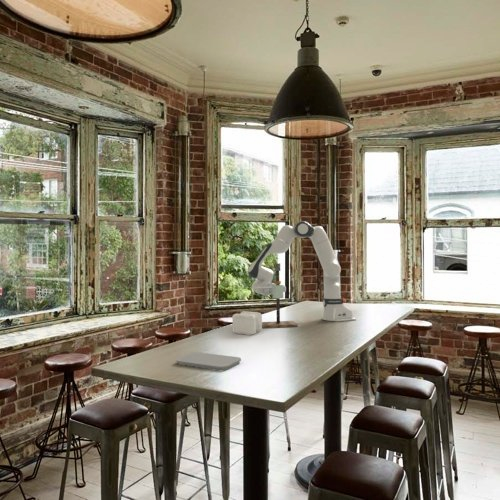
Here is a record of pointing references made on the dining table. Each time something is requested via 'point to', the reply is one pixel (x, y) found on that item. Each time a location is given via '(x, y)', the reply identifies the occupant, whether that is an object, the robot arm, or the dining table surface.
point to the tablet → (209, 361)
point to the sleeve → (277, 291)
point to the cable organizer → (247, 322)
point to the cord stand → (278, 309)
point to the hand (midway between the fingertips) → (276, 290)
